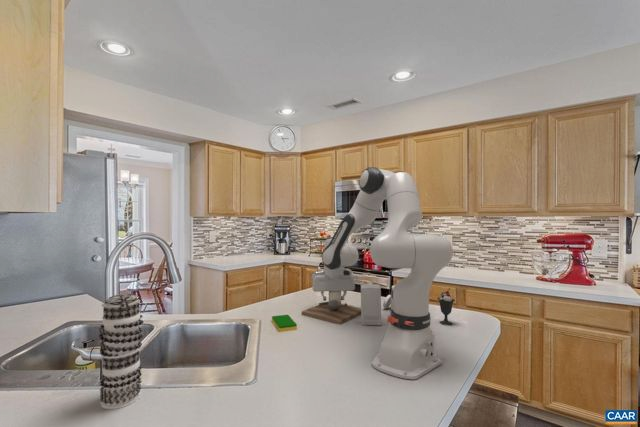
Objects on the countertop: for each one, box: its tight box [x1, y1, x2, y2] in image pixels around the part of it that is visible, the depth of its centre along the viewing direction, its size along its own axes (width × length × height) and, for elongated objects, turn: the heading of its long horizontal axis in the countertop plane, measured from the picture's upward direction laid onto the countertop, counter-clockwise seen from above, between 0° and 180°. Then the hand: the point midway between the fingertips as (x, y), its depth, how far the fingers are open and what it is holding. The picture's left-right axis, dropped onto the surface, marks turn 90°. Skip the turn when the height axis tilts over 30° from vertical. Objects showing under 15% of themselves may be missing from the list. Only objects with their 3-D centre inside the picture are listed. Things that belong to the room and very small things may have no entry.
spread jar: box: [382, 284, 395, 312], centre depth 149 cm, size 12×11×12 cm
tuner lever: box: [328, 291, 342, 310], centre depth 149 cm, size 11×6×6 cm, turn 173°
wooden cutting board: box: [301, 301, 361, 325], centre depth 145 cm, size 21×21×2 cm
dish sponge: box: [271, 314, 298, 333], centre depth 130 cm, size 7×14×2 cm, turn 21°
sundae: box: [437, 287, 456, 326], centre depth 132 cm, size 7×7×15 cm
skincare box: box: [360, 283, 382, 326], centre depth 132 cm, size 8×7×16 cm
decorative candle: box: [98, 293, 144, 410], centre depth 78 cm, size 9×9×25 cm
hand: (333, 300), depth 151 cm, fingers open, 7 cm apart
